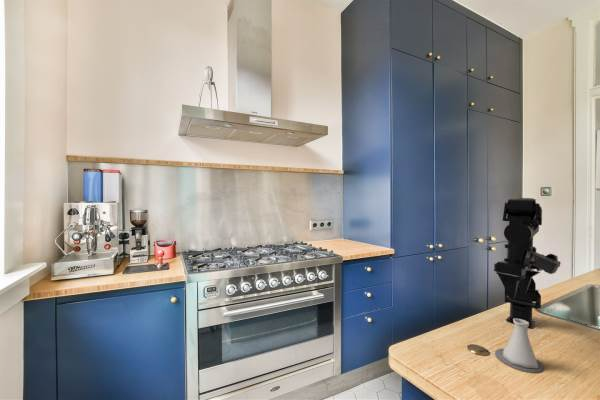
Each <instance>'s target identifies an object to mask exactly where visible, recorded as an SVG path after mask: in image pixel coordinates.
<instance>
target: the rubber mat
mask: <svg viewBox="0 0 600 400" xmlns="http://www.w3.org/2000/svg"><path fill="white" fill-rule="evenodd" d="M503 350H504V348H499V349H496V350H495V351H494V355H495V357H496V359H497V360H499V361H500V363H502V364H504V365H506V366H508V367H510V368H512V369H514V370H517V371H521V372H525V373H531V374H538V373H542V372H543V371H544V366H543V364H542V363H541V361H539V360H538V359H536V360H537V364H538V368H525V367H522V366H519V365H516V364H512V363H511V362H509V361H508V360H507V359H506V358H504V357H503Z"/></svg>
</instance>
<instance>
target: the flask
mask: <svg viewBox="0 0 600 400" xmlns="http://www.w3.org/2000/svg"><path fill="white" fill-rule="evenodd" d="M513 322H514V323H513V324H514V326H513V329H512V334H511V336H510V337H509V339H508V341H507V343H506V344H505V346H504V348H503V349H504V350H503V357H504V358H506V359H507V360H508V361H509V362H511V363H512V364H516V365H519V366H522V367H525V368H538V364H537V360H538V359H537V358H536V355H535V353H534V350H533V347H532V344H531V341H530V338H529V333H528V329H529V328H528V326H529V322H527V321H525V320H522V319H513Z"/></svg>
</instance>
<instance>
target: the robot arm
mask: <svg viewBox="0 0 600 400" xmlns="http://www.w3.org/2000/svg"><path fill="white" fill-rule="evenodd" d="M503 207H504V208H503V215H502V222H508V225H506V227H504V230H503V236H504V237H505V239H506V240H507V243H505V244H504V248H505V249H507V250H506V251H507V252H506V257H504V260H502V261H501V260H500V261H497V262H496V263H494V265H493V268H494V269H493V272H495V273H496V275H497V276H498V277H499V279H500V281H501V283H502V285H503V288H504V302H505V303H509V315H508V317H507V318H506V319H505V320H506V322H509V323H512V324H515V323H514V322H513V319H522V320H525V321H527V322H529V326H528V328H527V329H532V328H533V327H534V325H535V324H536V321H535V320H533V309H534V310H538V309H541V308H542V294H540V292H539V289H536V288H537V284H536V282H535V280H534V278H533V277H535V276H537V275H539V274H540V273H541V271H544V273H547V274H549V275H553V274H556V273H557V270H558V269H559V268H560V266H561V264H562V263H561V261H559V259H558V258H559V257H558V255H556V254H553V253H549V254H546V255H545V254H541V253H538V252H537V248H536V246H534V237H535V235H536V234H538V232H539V231H540V226H542V225H543V209H542V206H541V204H540V203H538V202H537V199H536V198H533V197H532V198H531V197H529V198H528V197H518V198H509V199H508V200H507V201H506V202H504V206H503Z"/></svg>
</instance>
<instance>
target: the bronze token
mask: <svg viewBox="0 0 600 400" xmlns="http://www.w3.org/2000/svg"><path fill="white" fill-rule="evenodd" d="M466 348H467V350H468V351H469V352H470V353H472V354H474V355H477V356H482V357H486V356H489V355H490V351H489V349H487V348H486V347H484V346H481V345H479V344H475V343H474V344H471V343H470V344H467V346H466Z"/></svg>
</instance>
